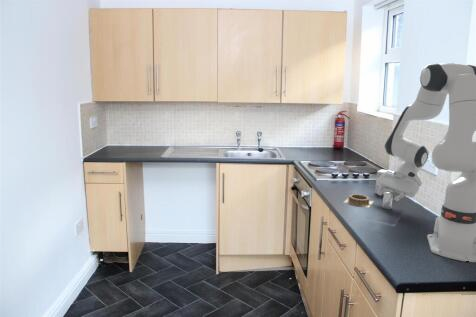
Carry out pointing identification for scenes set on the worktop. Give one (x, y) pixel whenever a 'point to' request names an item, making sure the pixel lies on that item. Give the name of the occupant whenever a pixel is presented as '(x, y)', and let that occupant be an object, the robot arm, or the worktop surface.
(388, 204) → the peg
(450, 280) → the worktop surface
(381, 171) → the supplement box
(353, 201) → the brown cake on plate
